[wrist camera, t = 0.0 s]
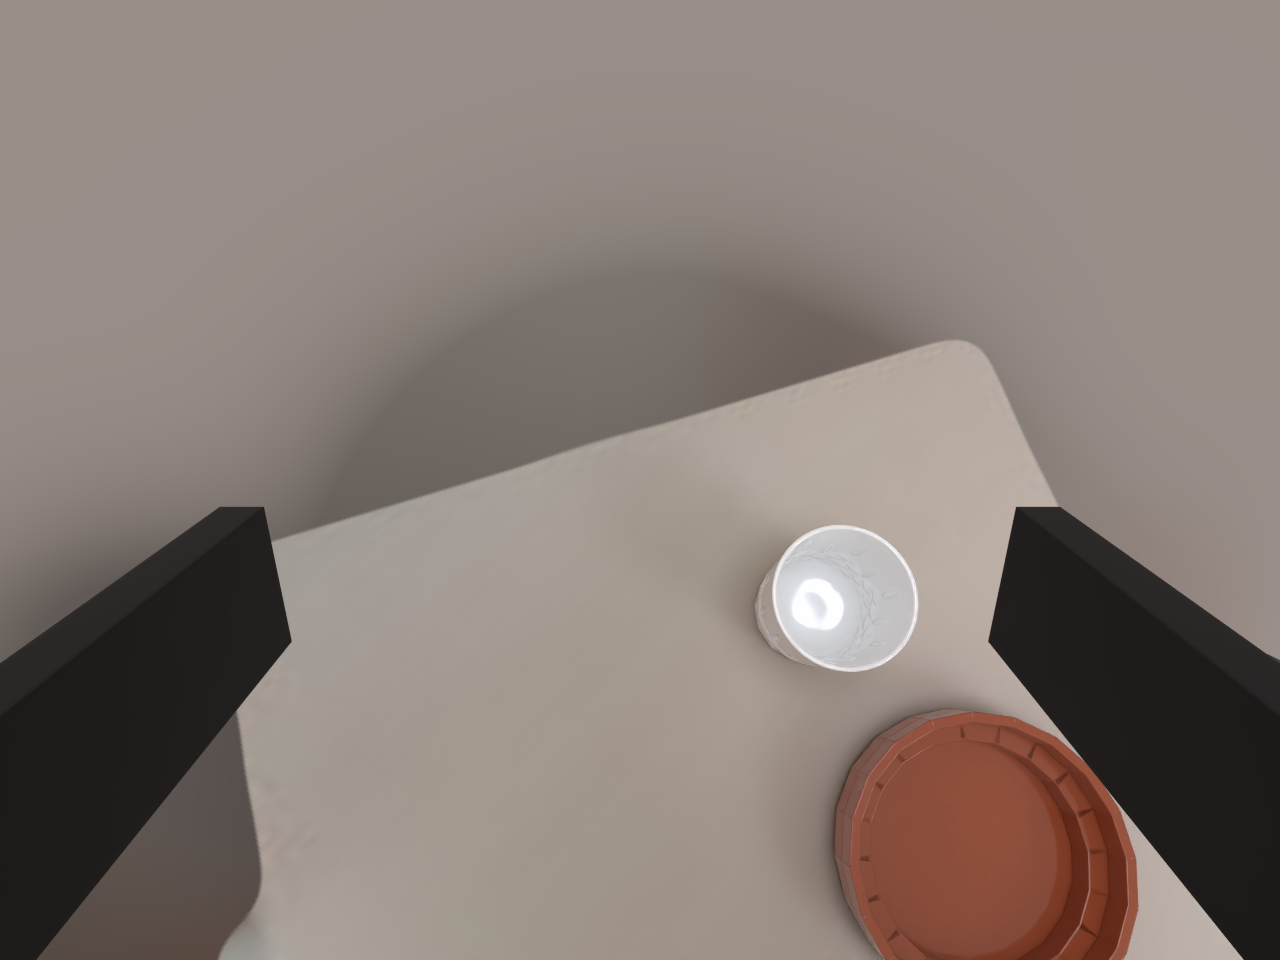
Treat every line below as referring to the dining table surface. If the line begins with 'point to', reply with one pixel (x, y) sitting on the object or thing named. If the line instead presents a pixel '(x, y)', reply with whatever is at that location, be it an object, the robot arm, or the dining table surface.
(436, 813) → the dining table surface
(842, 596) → the white cup
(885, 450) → the dining table surface
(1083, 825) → the bowl
